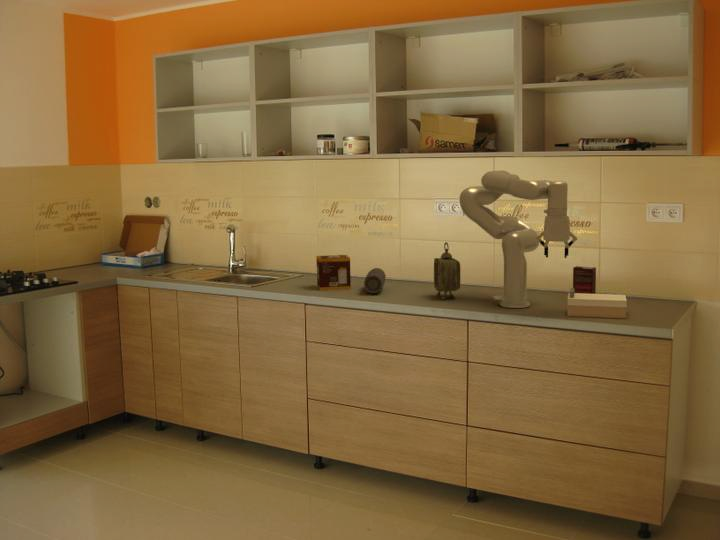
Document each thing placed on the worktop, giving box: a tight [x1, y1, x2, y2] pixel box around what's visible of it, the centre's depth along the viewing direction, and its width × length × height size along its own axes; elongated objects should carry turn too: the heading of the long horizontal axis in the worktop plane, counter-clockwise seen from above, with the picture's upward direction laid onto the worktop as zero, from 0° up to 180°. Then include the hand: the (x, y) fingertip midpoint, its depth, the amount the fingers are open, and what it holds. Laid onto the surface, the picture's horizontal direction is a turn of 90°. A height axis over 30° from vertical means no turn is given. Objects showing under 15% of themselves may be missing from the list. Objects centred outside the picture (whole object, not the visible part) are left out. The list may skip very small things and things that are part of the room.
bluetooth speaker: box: [363, 267, 387, 294], centre depth 375 cm, size 23×9×10 cm, turn 174°
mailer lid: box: [567, 287, 627, 308], centre depth 316 cm, size 22×13×5 cm, turn 74°
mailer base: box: [566, 304, 627, 319], centre depth 316 cm, size 22×11×6 cm, turn 74°
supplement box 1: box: [315, 254, 352, 292], centre depth 384 cm, size 10×15×16 cm
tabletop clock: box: [433, 241, 461, 301], centre depth 354 cm, size 14×9×25 cm, turn 7°
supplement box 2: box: [572, 265, 597, 294], centre depth 336 cm, size 9×5×16 cm, turn 56°
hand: (556, 257), depth 318 cm, fingers open, 6 cm apart
